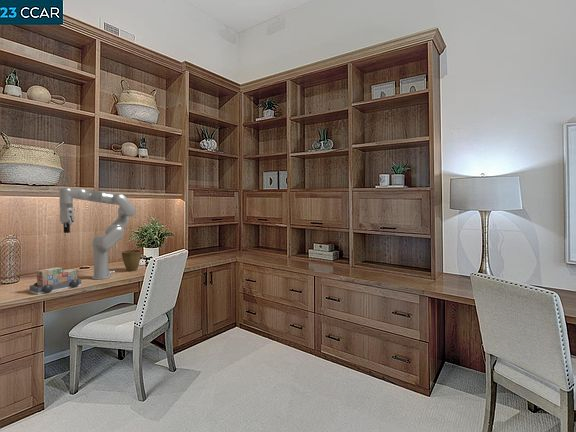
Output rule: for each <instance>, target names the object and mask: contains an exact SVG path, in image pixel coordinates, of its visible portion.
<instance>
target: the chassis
mask: <svg viewBox="0 0 576 432" xmlns="http://www.w3.org/2000/svg"><path fill="white" fill-rule="evenodd" d="M78 287H82V279H79V278H77V280H72V281H71V282H65V283H60V284H55V285H45V286H44V287H37V281H36V282H35V283H33V284H31V285H29V293H32V294H35V295H43V294H49V293H52V292H57V291H58V292H59V291H62V290H68V289H72V288H78Z"/></svg>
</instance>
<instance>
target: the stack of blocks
mask: <svg viewBox="0 0 576 432" xmlns="http://www.w3.org/2000/svg"><path fill="white" fill-rule="evenodd" d="M77 279H78V269H66V270H64V268H63V267H57V266H56V267H50V268H45V269H40V270H36V282H37V287H44V286H45V285H55V284H60V283H65V282H71V281H72V280H77Z"/></svg>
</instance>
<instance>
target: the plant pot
mask: <svg viewBox="0 0 576 432" xmlns="http://www.w3.org/2000/svg"><path fill="white" fill-rule="evenodd" d="M121 256H122V261H123V264H124V267H125V269H126V272H137V271H138V268H139V265H140V262H141V257H142V250H141V249H130V250H129V249H128V250H123V251H121Z"/></svg>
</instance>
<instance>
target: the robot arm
mask: <svg viewBox="0 0 576 432" xmlns="http://www.w3.org/2000/svg"><path fill="white" fill-rule="evenodd" d="M58 197H59V209H60V210H59V222H60V223H61V224H62V226H63V234H69V233H70V232H71V225H73V223H74V222H75V214H74V213H75V212H74V205H73V204H74V201H73V199H74V200H80V201H87V202H89V201H90V202H92V203H93V202H94V203H101V204H107V205H115V206H119V207H118V209H117V217H116V219H115V221H113V222H112V223H111V224H110V225H109V226H108V227H107V228H105V231H104V234H105V235H102V234H99V235H96V236H94V237H93V239H92V249H93V275H92V276H91V279H92V280H106V279H110V278H111V277H112V274H116V272H115V271H116V270H109V267H110V266H109V249H111V248H112V247H114V246H115V245H116V244H117V243H118V242H120V240H121V239H122V238H123V237H124V235H125V228H126V227H127V226H128V224H129V221H130V217H132V216H135V214H136V212H137V211H136V208H135V206H134V205H133V203H132V202H131V201H130V200H129V199H128V197H127V196H125V194H124V193H115V192H108V191H102V190H87V189H84V188H82V187H72V188H71V187H61V188H59V195H58Z"/></svg>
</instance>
